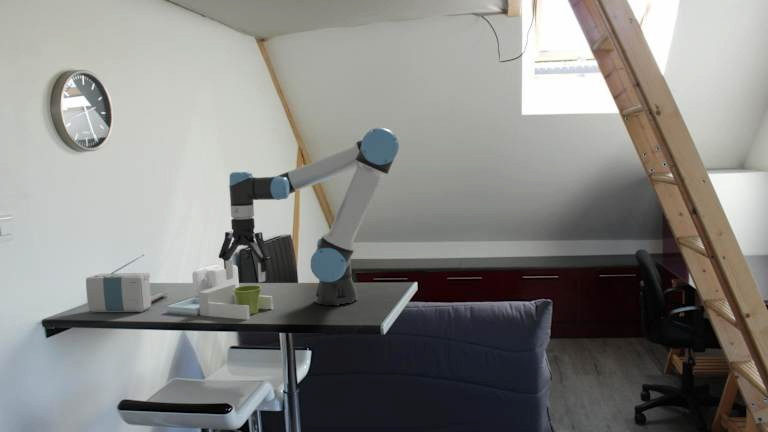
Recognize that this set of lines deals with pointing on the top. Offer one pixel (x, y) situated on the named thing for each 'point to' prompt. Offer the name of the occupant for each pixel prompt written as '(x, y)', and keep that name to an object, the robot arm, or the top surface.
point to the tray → (185, 307)
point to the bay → (227, 303)
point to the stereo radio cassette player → (118, 292)
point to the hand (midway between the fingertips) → (245, 280)
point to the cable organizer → (212, 278)
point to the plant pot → (248, 297)
